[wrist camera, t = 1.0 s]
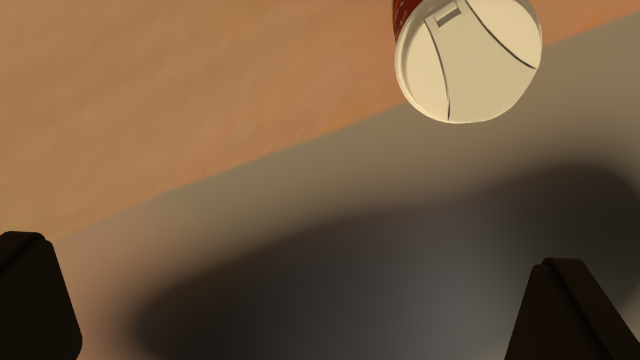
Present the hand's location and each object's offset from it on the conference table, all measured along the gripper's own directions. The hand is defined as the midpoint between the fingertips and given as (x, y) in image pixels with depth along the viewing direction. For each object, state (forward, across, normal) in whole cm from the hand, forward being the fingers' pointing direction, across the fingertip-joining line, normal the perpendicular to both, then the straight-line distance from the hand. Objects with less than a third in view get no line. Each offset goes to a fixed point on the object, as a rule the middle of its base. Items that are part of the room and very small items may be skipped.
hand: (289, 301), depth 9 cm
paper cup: (+31, -7, 0) cm, 32 cm away
